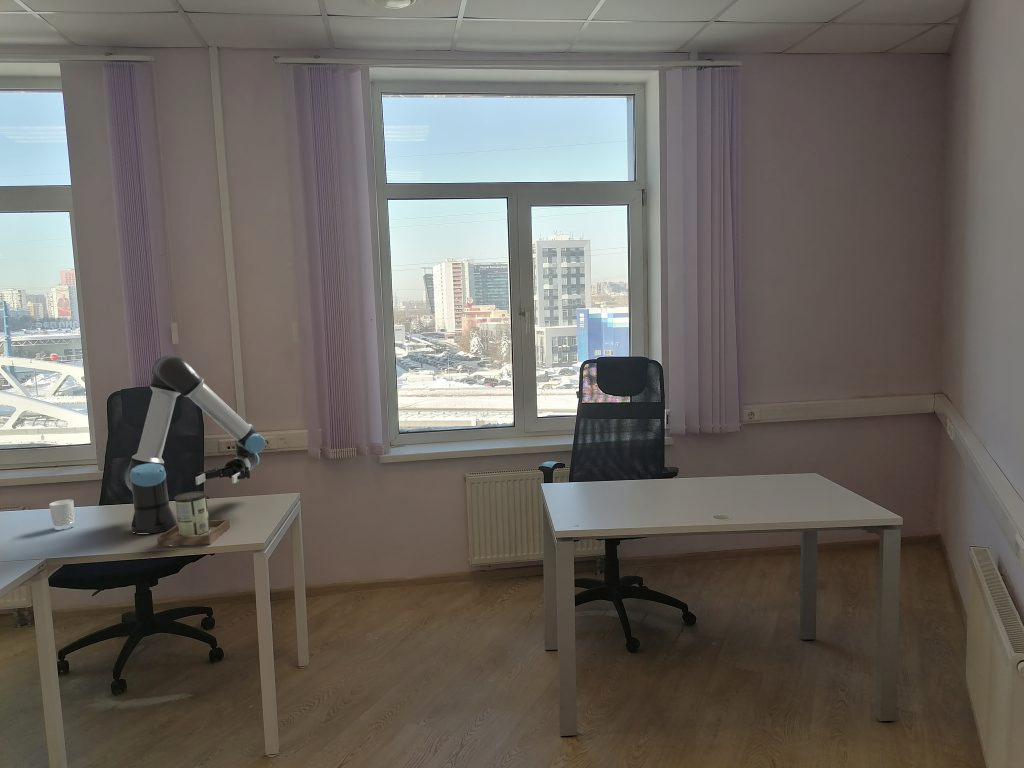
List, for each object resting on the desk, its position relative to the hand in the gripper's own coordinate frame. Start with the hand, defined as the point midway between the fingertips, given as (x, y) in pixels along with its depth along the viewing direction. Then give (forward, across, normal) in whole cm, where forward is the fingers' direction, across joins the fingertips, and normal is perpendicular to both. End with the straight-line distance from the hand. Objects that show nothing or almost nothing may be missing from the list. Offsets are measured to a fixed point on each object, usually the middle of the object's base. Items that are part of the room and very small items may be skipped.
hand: (214, 480), depth 280 cm
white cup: (-4, +61, -17) cm, 64 cm away
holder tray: (+15, +2, -17) cm, 22 cm away
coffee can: (+15, +2, -16) cm, 22 cm away
